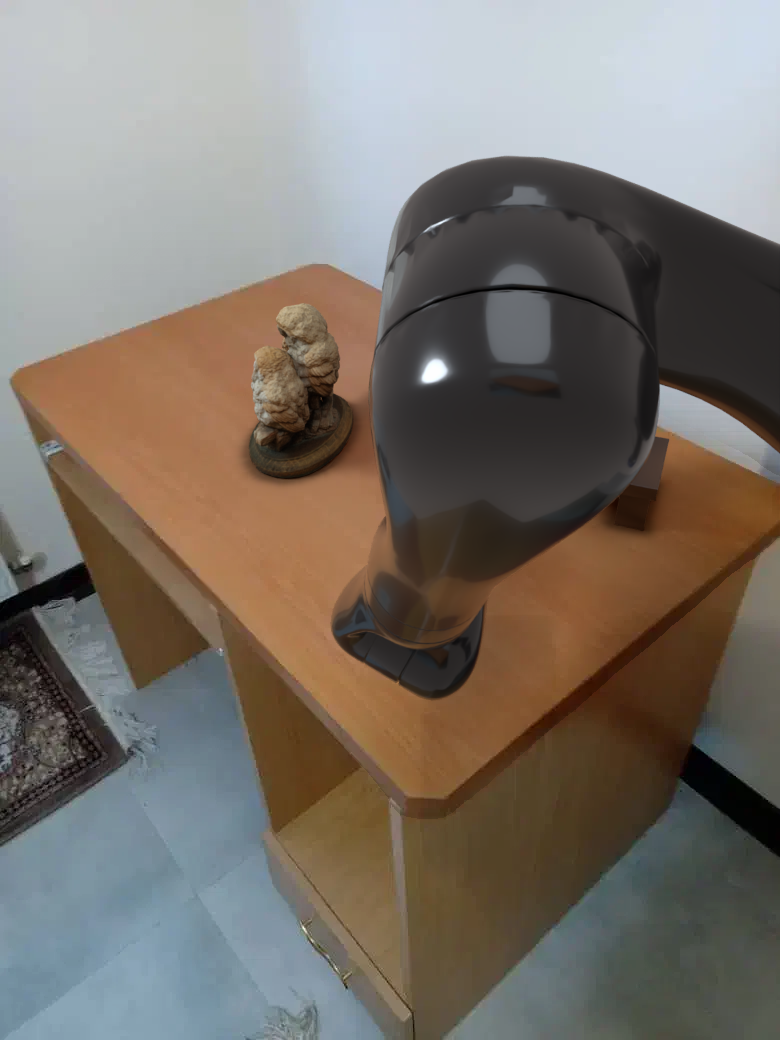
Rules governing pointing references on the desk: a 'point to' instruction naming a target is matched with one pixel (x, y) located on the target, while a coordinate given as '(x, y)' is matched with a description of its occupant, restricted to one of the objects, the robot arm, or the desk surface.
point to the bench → (642, 489)
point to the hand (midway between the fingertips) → (554, 395)
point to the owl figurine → (298, 398)
